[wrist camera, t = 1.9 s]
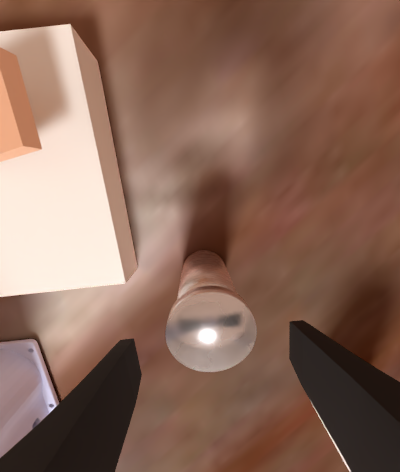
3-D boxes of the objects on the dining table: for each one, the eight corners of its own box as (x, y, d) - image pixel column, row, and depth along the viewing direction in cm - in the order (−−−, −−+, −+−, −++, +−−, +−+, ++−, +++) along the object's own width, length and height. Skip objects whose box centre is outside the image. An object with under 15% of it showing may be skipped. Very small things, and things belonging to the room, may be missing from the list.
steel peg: (230, 290, 18) (258, 367, 10) (182, 295, 18) (172, 376, 10) (226, 244, 17) (254, 288, 9) (176, 249, 17) (158, 298, 9)
